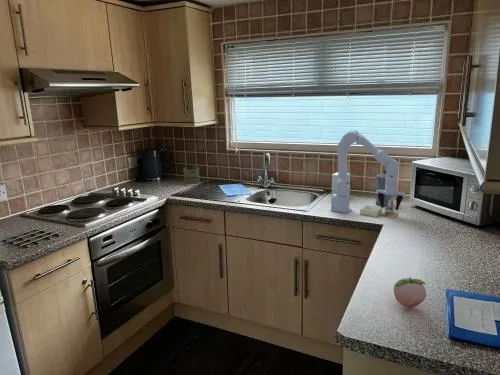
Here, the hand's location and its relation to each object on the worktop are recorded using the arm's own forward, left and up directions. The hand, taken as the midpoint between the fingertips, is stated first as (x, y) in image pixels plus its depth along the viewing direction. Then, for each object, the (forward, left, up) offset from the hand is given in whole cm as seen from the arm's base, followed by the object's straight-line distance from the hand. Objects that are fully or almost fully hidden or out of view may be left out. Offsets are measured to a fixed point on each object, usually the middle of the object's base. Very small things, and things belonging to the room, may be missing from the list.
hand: (389, 208), depth 202 cm
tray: (-9, -2, -4) cm, 10 cm away
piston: (-145, 0, -4) cm, 145 cm away
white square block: (-36, +20, -4) cm, 41 cm away
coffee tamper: (0, 0, -2) cm, 2 cm away
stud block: (0, 0, -4) cm, 4 cm away
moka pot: (-9, +18, -4) cm, 20 cm away
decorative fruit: (+32, -86, -4) cm, 92 cm away
